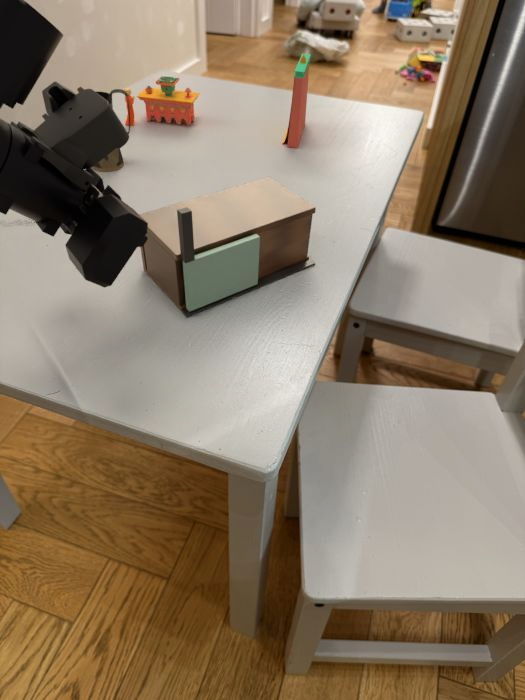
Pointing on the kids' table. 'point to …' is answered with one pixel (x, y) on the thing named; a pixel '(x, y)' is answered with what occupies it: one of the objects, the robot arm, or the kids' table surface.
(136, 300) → the kids' table surface
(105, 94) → the mug
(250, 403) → the kids' table surface
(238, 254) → the sliding door
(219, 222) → the cabinet
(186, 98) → the building blocks
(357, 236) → the kids' table surface
